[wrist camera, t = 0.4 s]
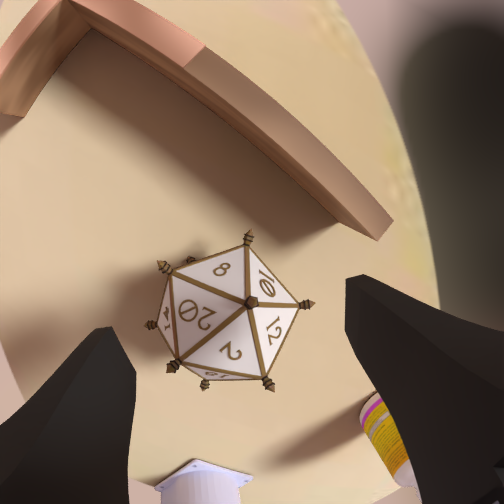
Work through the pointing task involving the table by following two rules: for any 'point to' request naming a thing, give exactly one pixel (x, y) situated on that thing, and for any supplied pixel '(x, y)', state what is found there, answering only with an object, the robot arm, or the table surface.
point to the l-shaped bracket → (191, 80)
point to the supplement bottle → (387, 441)
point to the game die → (225, 316)
